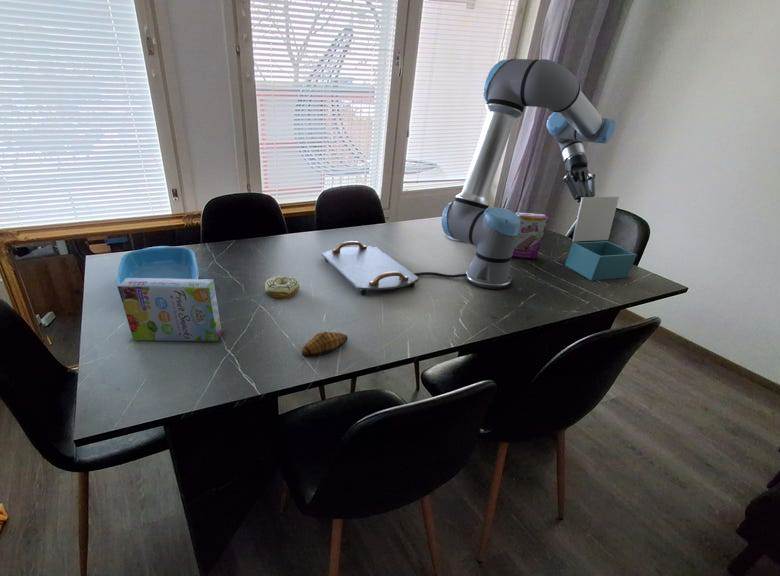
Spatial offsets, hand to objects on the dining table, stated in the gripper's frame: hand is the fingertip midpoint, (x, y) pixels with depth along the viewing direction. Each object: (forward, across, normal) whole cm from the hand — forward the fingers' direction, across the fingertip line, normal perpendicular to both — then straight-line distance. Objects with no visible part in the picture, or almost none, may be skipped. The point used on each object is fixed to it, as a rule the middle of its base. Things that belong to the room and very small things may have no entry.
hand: (589, 215), depth 156 cm
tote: (+21, 0, -4) cm, 21 cm away
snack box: (+36, +146, +11) cm, 151 cm away
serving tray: (+12, +86, -12) cm, 88 cm away
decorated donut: (+20, +117, -5) cm, 119 cm away
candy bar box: (+8, +20, -17) cm, 27 cm away
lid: (+3, 0, +2) cm, 4 cm away
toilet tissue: (-10, +34, -35) cm, 50 cm away
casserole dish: (+13, +153, -11) cm, 154 cm away
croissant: (+45, +110, +20) cm, 121 cm away
